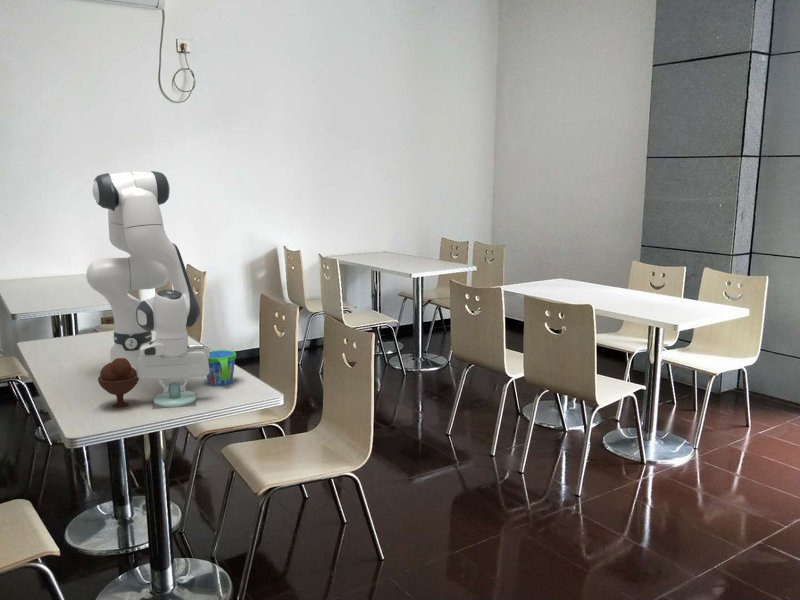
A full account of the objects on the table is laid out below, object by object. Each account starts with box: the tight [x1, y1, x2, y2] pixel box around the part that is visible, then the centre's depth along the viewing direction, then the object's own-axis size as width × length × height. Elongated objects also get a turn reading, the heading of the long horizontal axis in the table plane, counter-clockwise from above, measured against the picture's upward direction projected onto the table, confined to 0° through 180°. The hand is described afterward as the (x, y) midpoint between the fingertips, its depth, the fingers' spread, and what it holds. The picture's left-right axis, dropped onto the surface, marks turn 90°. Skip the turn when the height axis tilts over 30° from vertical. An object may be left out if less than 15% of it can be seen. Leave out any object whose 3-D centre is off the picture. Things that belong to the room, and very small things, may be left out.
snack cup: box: [206, 349, 237, 387], centre depth 222 cm, size 16×10×10 cm
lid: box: [153, 381, 197, 408], centre depth 204 cm, size 12×12×5 cm
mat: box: [151, 392, 198, 410], centre depth 205 cm, size 12×12×1 cm
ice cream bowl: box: [97, 358, 140, 409], centre depth 199 cm, size 11×11×15 cm
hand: (174, 391), depth 204 cm, fingers closed on lid, 3 cm apart
